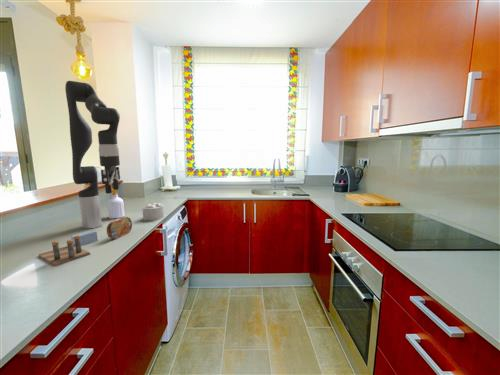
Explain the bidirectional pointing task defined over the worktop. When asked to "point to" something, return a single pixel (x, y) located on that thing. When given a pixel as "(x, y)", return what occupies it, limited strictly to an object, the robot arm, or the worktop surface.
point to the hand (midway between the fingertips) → (112, 191)
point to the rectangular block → (86, 237)
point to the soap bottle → (115, 206)
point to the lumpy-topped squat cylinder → (153, 211)
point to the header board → (64, 252)
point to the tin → (119, 227)
